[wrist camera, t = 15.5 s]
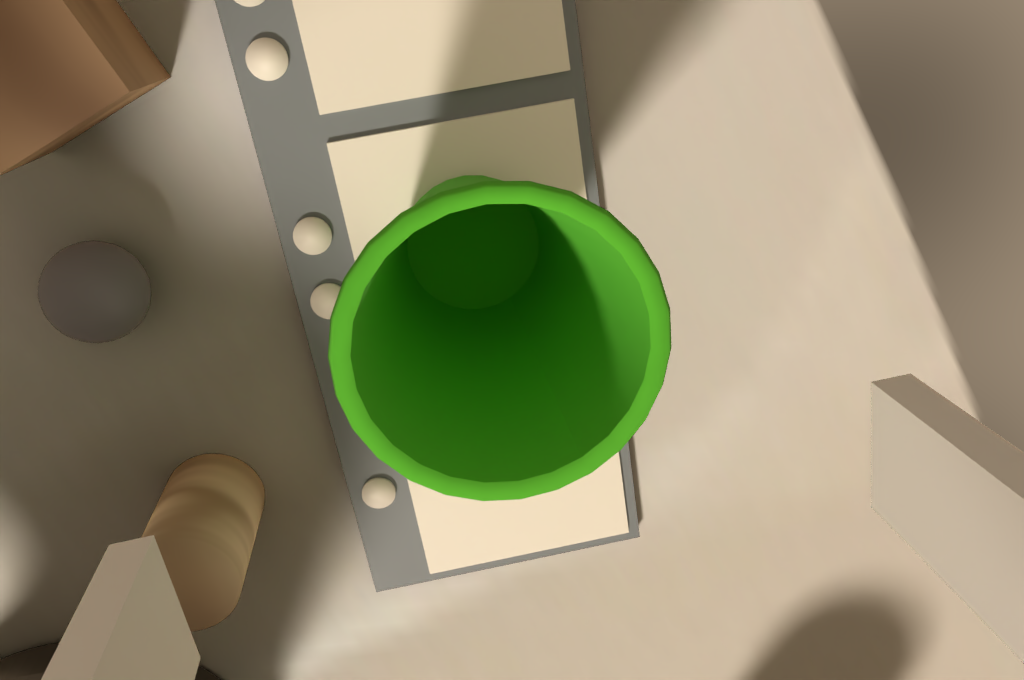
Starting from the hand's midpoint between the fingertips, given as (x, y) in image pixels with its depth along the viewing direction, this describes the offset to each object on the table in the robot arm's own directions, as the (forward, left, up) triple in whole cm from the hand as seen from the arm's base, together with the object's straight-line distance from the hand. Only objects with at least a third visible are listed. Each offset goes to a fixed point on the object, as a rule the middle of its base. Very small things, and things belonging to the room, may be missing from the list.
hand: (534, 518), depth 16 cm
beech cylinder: (-12, -9, -19) cm, 24 cm away
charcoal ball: (-13, +1, -19) cm, 23 cm away
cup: (0, 0, -19) cm, 19 cm away
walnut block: (-12, +9, -19) cm, 24 cm away
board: (-1, 0, -19) cm, 19 cm away
